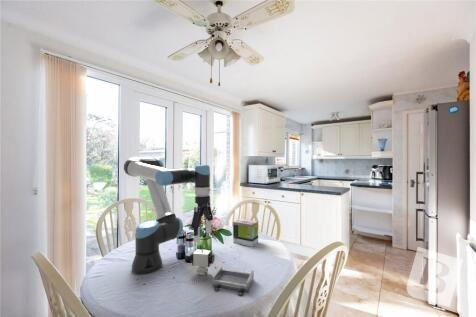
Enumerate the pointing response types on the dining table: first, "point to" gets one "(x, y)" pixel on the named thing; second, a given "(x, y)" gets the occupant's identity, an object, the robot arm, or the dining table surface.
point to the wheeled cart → (233, 281)
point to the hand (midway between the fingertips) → (202, 237)
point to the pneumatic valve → (202, 260)
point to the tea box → (245, 232)
